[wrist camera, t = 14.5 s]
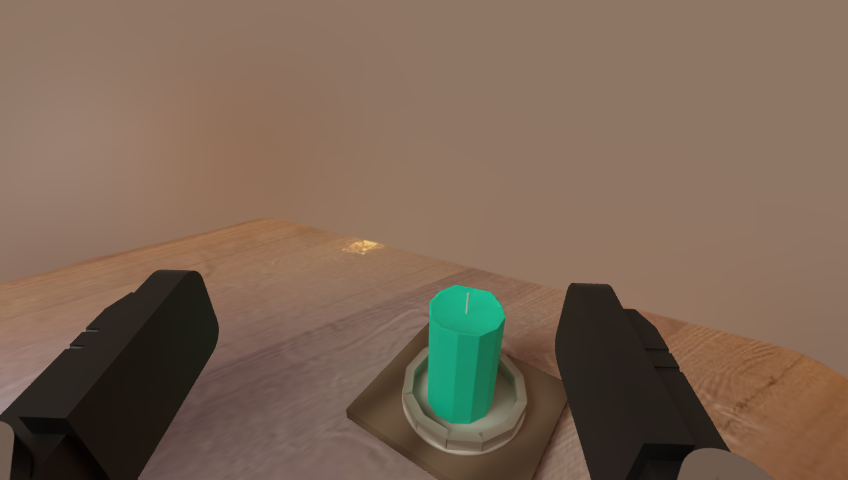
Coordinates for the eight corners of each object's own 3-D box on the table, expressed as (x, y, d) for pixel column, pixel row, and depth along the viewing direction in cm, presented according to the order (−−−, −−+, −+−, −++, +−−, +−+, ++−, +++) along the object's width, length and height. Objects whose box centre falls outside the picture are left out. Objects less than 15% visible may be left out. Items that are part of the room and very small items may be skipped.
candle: (486, 433, 35) (501, 329, 29) (418, 414, 37) (418, 311, 30) (497, 377, 40) (512, 277, 34) (436, 362, 42) (440, 264, 35)
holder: (347, 417, 38) (344, 396, 37) (431, 326, 48) (432, 306, 46) (510, 528, 31) (515, 507, 29) (571, 394, 41) (577, 373, 39)
